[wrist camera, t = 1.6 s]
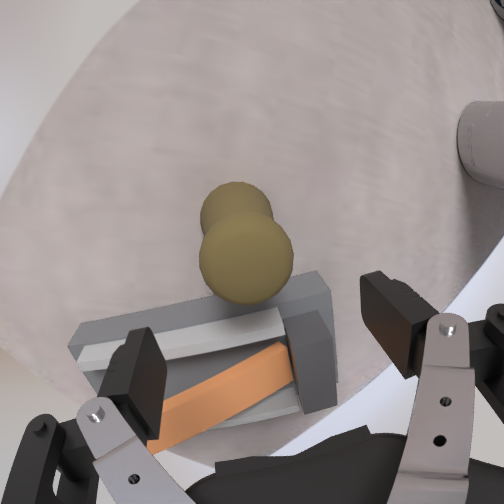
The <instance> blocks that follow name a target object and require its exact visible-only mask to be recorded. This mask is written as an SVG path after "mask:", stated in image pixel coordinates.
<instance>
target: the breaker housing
mask: <svg viewBox="0 0 504 504" xmlns="http://www.w3.org/2000/svg"><path fill="white" fill-rule="evenodd" d="M144 327H149V328H150V329H151V330H152V332H153V334H154V336H155V339H156V341H157V343H158V345H159V347H160V350H161V352H162V354H163V356H164V358H165V361H166V365H167V379H166V386H165V394H164V400H166V399H168V398H171V397H173V396H175V395H177V394H179V393H181V392H183V391H185V390H187V389H189V388H191V387H194V386H196V385H198V384H200V383H202V382H204V381H206V380H208V379H210V378H212V377H213V376H215V375H217V374H219V373H221V372H223V371H225V370H227V369H229V368H231V367H233V366H235V365H236V364H238V363H240V362H242V361H244V360H246V359H248V358H249V357H251V356H253V355H255V354H257V353H259V352H260V351H262V350H264V349H266V348H267V347H269V346H271V345H273V344H275V343H276V342H278V341H279V342H280V343H282V344H283V345H284V346H286V347H287V351H288V356H289V361H290V366H291V371H292V376H293V381H291V382H290V383H288V384H287V385H285V386H283V387H282V388H280V389H278V390H277V391H275V392H274V393H272V394H270V395H269V396H267V397H265V398H264V399H262V400H260V401H258V402H257V403H255V404H253V405H252V406H250V407H248V408H246V409H244V410H243V411H241V412H239V413H237V414H235V415H234V416H232V417H230V418H228V419H226V420H224V421H222V422H221V423H219V424H217V425H215V426H213V427H211V428H209V429H207V430H212V429H218V428H224V427H230V426H236V425H241V424H247V423H252V422H257V421H261V420H266V419H271V418H275V417H279V416H283V415H288V414H292V413H296V412H299V411H300V408H299V403H298V400H297V397H296V394H298V395H299V399H300V402H301V405H302V408H303V411H304V415H305V414H309V413H312V412H316V411H319V410H323V409H326V408H329V407H333V406H336V405H337V390H336V383H338V371H337V356H336V342H335V330H334V319H333V308H332V298H331V290H330V289H329V287H328V286H327V284H326V283H325V282H324V280H323V279H322V277H321V276H320V275H319V273H318V272H317V271H313V272H309V273H305V274H301V275H297V276H293V277H289V280H288V282H287V284H286V285H285V286H284V287H283V288H282V289H281V291H280V292H279V293H278V294H276V295H275V296H273V297H272V298H270V299H269V300H267V301H264V302H261V303H258V304H254V305H238V304H234V303H230V302H227V301H225V300H223V299H222V298H220V297H218V296H217V295H214V296H209V297H205V298H201V299H196V300H192V301H187V302H183V303H178V304H173V305H169V306H164V307H160V308H155V309H150V310H145V311H141V312H136V313H131V314H126V315H121V316H116V317H111V318H106V319H101V320H96V321H91V322H86V323H81V324H80V326H79V327H78V329H77V331H76V332H75V334H74V336H73V337H72V339H71V341H70V342H69V344H68V346H67V347H68V348H69V350H70V352H71V354H72V355H73V357H74V359H75V360H76V364H77V365H78V367H79V369H80V370H81V372H83V373H84V375H85V377H86V378H87V380H88V381H89V383H90V384H91V386H92V387H93V389H94V390H95V392H96V393H97V395H98V392H99V389H100V387H101V384H102V381H103V378H104V375H105V373H107V372H106V370H107V367H108V365H109V362H110V359H111V357H112V354H113V353H114V352H115V351H116V349H117V348H118V347H119V346H120V345H123V344H125V341H126V338H127V335H128V333H129V331H130V330H133V329H138V328H144Z"/></svg>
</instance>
